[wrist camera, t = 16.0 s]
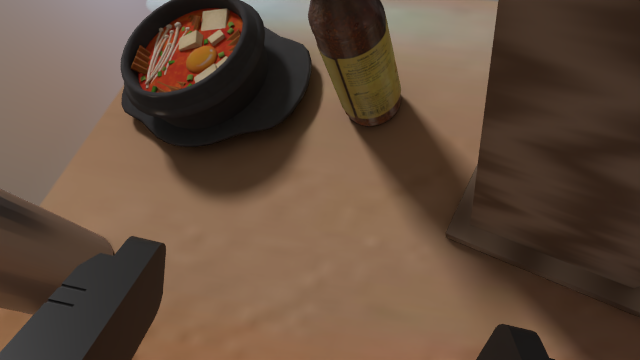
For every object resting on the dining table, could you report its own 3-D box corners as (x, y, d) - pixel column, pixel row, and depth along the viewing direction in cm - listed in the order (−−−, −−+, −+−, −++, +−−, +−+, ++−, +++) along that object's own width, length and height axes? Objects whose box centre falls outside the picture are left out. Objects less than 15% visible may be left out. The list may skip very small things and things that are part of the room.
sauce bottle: (412, 89, 45) (390, -102, 28) (386, 137, 43) (345, -36, 26) (358, 74, 48) (307, -108, 30) (331, 118, 46) (261, -49, 29)
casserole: (106, 142, 53) (53, 102, 46) (167, 29, 60) (129, -21, 53) (287, 169, 44) (256, 124, 37) (334, 33, 51) (316, -27, 44)
